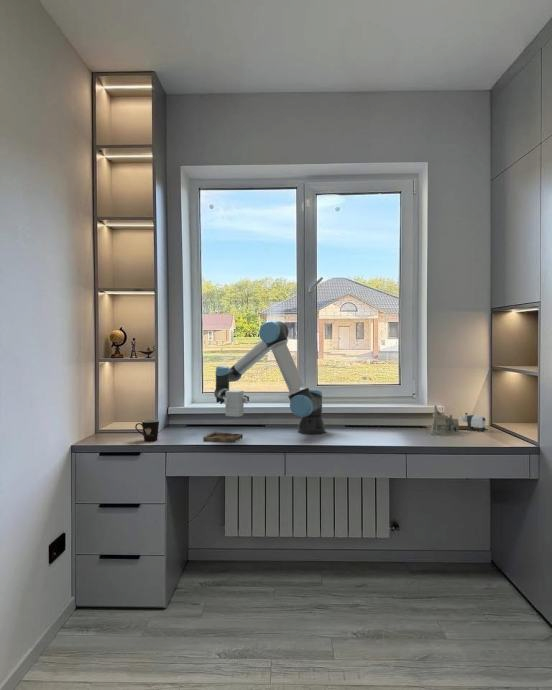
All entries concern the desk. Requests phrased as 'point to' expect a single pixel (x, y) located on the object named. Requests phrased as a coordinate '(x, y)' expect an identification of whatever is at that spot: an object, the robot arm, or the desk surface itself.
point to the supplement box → (234, 403)
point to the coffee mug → (149, 430)
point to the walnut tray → (222, 437)
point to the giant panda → (474, 421)
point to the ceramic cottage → (443, 424)
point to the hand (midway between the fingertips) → (236, 401)
